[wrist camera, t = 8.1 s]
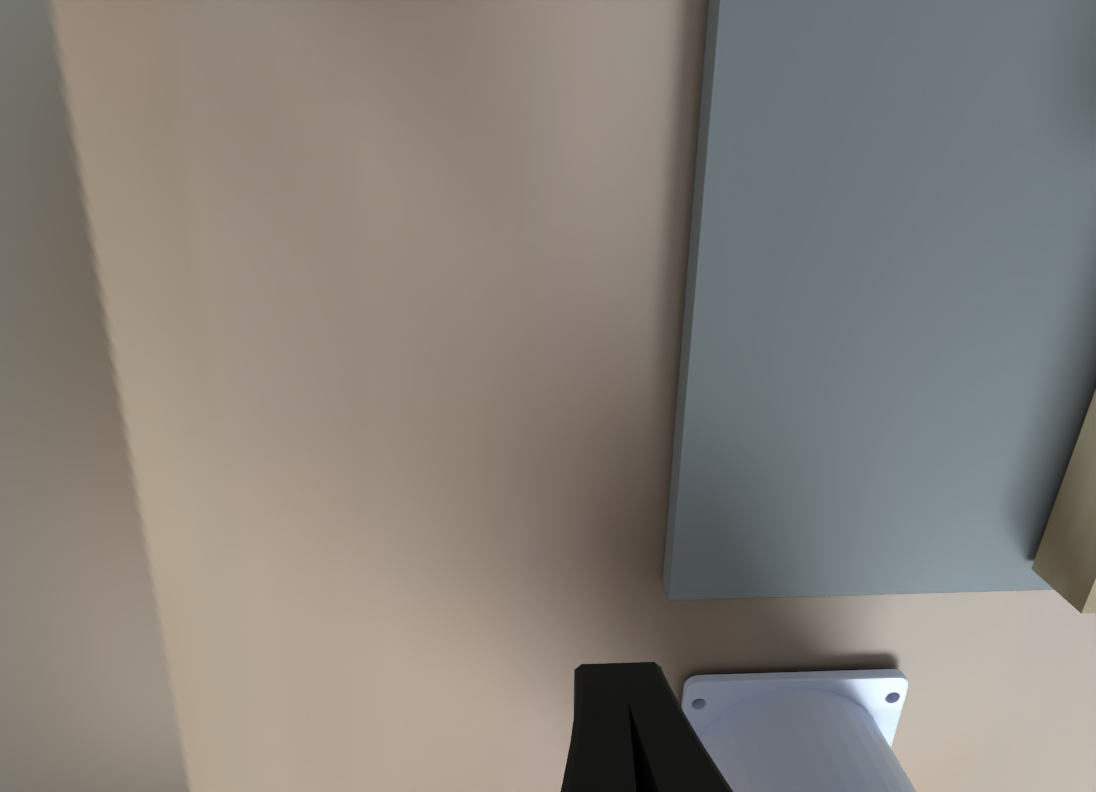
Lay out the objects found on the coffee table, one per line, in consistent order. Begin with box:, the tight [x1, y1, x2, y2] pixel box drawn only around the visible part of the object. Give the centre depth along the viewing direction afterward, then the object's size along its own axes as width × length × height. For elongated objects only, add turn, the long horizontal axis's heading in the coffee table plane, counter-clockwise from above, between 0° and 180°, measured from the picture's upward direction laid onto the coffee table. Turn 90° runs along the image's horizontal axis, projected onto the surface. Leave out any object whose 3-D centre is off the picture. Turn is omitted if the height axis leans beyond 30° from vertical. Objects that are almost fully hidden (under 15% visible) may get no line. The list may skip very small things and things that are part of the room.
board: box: [663, 0, 1096, 600], centre depth 17 cm, size 21×18×1 cm
